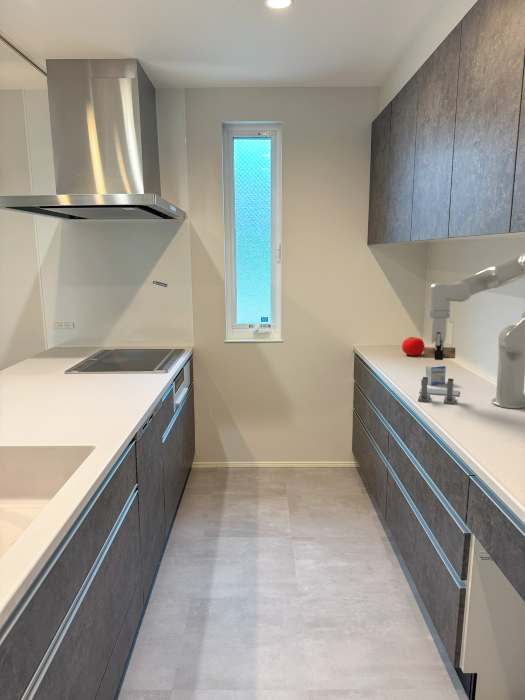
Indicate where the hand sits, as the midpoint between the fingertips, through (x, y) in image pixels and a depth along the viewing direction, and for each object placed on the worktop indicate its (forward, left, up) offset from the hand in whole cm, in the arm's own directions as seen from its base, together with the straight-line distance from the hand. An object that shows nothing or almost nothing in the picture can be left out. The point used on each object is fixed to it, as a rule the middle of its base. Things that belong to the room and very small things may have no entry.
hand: (439, 358), depth 196 cm
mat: (0, -13, -18) cm, 22 cm away
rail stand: (0, 0, -18) cm, 18 cm away
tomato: (+22, -99, -18) cm, 103 cm away
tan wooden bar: (0, 0, 0) cm, 0 cm away
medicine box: (+3, -29, -18) cm, 34 cm away
